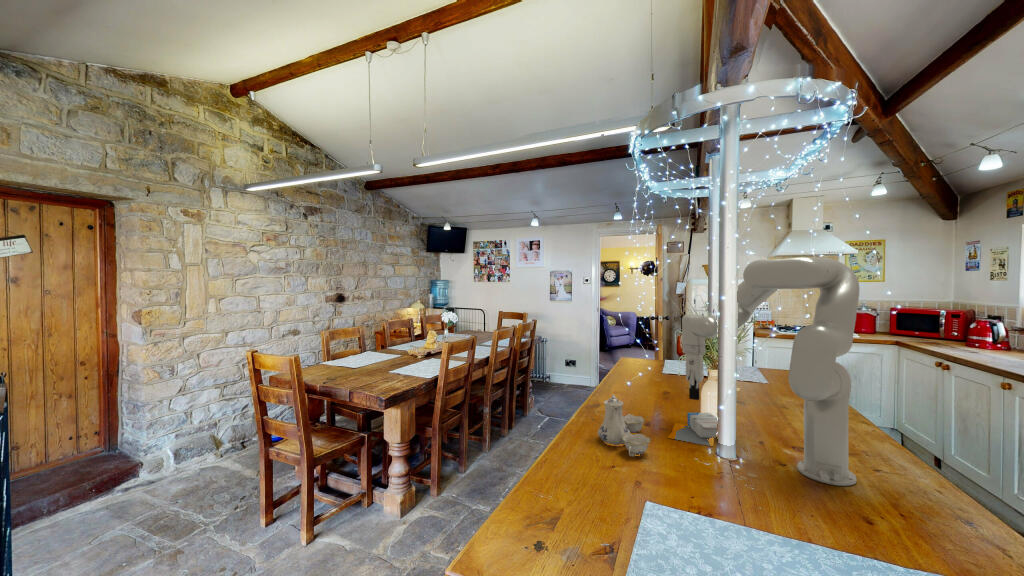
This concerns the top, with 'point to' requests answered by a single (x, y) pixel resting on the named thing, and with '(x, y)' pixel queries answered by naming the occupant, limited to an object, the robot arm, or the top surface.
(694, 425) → the ink box
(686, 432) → the mat
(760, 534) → the top surface
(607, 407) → the chinaware
